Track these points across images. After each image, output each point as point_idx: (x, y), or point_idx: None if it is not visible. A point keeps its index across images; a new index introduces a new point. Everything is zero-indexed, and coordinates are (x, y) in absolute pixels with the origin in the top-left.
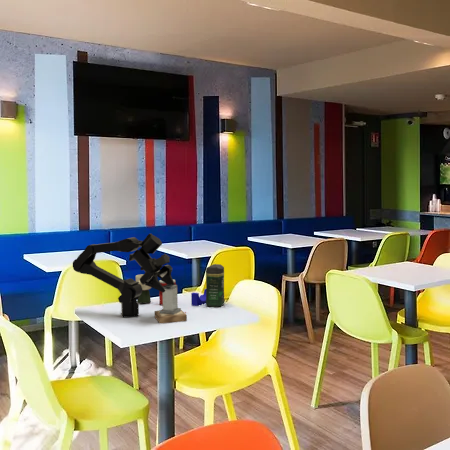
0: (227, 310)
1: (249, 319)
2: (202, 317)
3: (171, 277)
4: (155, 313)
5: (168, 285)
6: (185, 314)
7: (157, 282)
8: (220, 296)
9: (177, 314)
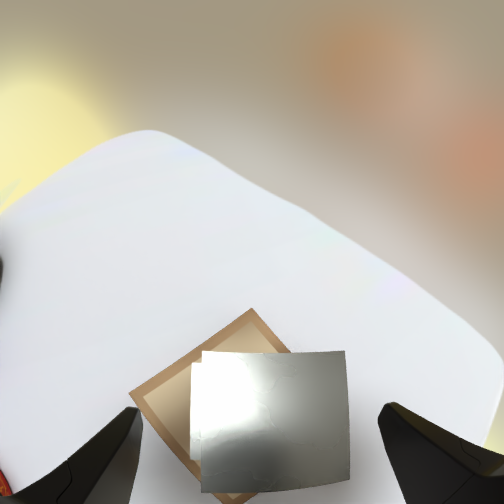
0: (46, 217)
1: (167, 134)
2: (163, 271)
3: (52, 482)
4: (253, 493)
5: (269, 449)
6: (246, 316)
7: (481, 450)
8: None
9: (276, 350)
